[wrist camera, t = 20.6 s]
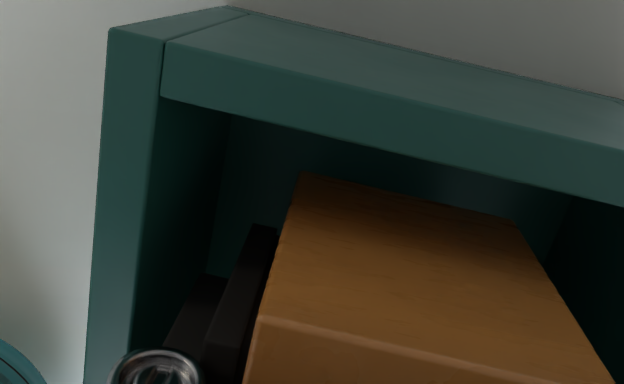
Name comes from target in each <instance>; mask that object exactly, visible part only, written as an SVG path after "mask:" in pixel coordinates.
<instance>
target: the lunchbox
mask: <svg viewBox="0 0 624 384" xmlns="http://www.w3.org/2000/svg"><path fill="white" fill-rule="evenodd" d="M300 171H308V172H312V173H316V174H321V175H325V176H329V177H333V178H338V179H342V180H346V181H350V182H355V183H359V184H363V185H367V186H372V187H376V188H380V189H384V190H388V191H393V192H397V193H401V194H405V195H410V196H414V197H418V198H422V199H427V200H431V201H435V202H439V203H444V204H448V205H452V206H456V207H461V208H465V209H469V210H473V211H478V212H482V213H486V214H490V215H495V216H499V217H503V218H507V219H511V220H513V221H514V223H515V224H516V226H517V227H518V229H519V231H520V232H521V234H522V235H523V237H524V239H525V240H526V242H527V243H528V245H529V246H530V248H531V250H532V251H533V253H534V254H535V256H536V258H537V259H538V261H539V262H540V264H541V265H542V267H543V269H544V270H545V272H546V273H547V275H548V277H549V278H550V280H551V281H552V283H553V285H554V286H555V288H556V289H557V291H558V292H559V294H560V296H561V297H562V299H563V300H564V302H565V304H566V305H567V307H568V308H569V310H570V312H571V313H572V315H573V316H574V318H575V319H576V321H577V323H578V324H579V326H580V327H581V329H582V331H583V332H584V334H585V335H586V337H587V338H588V340H589V342H590V343H591V345H592V346H593V348H594V350H595V351H596V353H597V354H598V356H599V358H600V359H601V361H602V362H603V364H604V365H605V367H606V369H607V370H608V372H609V373H610V375H611V377H612V378H613V380H614V381H615V383H616V384H624V100H620V99H616V98H612V97H608V96H604V95H600V94H595V93H591V92H587V91H583V90H579V89H575V88H570V87H566V86H562V85H558V84H554V83H550V82H545V81H541V80H537V79H533V78H529V77H525V76H520V75H516V74H512V73H508V72H504V71H500V70H495V69H491V68H487V67H483V66H479V65H475V64H470V63H466V62H462V61H458V60H454V59H449V58H445V57H441V56H437V55H433V54H429V53H424V52H420V51H416V50H412V49H408V48H404V47H399V46H395V45H391V44H387V43H383V42H379V41H374V40H370V39H366V38H362V37H358V36H354V35H349V34H345V33H341V32H337V31H333V30H329V29H324V28H320V27H316V26H312V25H308V24H304V23H299V22H295V21H291V20H287V19H283V18H278V17H274V16H270V15H266V14H262V13H258V12H253V11H249V10H245V9H241V8H237V7H233V6H228V5H226V6H221V7H214V8H209V9H204V10H199V11H193V12H188V13H183V14H178V15H173V16H168V17H163V18H158V19H153V20H148V21H143V22H138V23H133V24H128V25H123V26H117V27H112V28H110V29H109V31H108V41H107V55H106V69H105V83H104V97H103V111H102V125H101V139H100V153H99V167H98V181H97V195H96V210H95V224H94V238H93V252H92V266H91V280H90V294H89V308H88V322H87V336H86V350H85V364H84V378H83V384H106V382H107V378H108V375H109V373H110V371H111V369H112V367H113V365H114V364H115V363H116V362H117V361H118V360H119V359H120V358H121V357H122V356H124V355H126V354H128V353H130V352H132V351H134V350H137V349H141V348H145V347H150V346H162V345H163V343H164V341H165V339H166V337H167V336H168V334H169V332H170V330H171V328H172V326H173V324H174V322H175V320H176V318H177V316H178V315H179V313H180V311H181V309H182V307H183V305H184V303H185V301H186V299H187V297H188V295H189V294H190V292H191V290H192V288H193V286H194V284H195V282H196V280H197V278H198V277H199V275H200V273H202V272H203V273H207V274H211V275H216V276H220V277H224V278H228V279H229V278H230V276H231V274H232V271H233V269H234V267H235V264H236V262H237V259H238V257H239V255H240V252H241V250H242V247H243V245H244V243H245V240H246V238H247V236H248V233H249V231H250V228H251V226H252V224H253V223H255V224H260V225H264V226H268V227H273V228H277V235H278V236H280V235H281V232H282V228H283V225H284V222H285V218H286V215H287V211H288V208H289V205H290V201H291V198H292V194H293V191H294V188H295V184H296V181H297V177H298V174H299V172H300Z"/></svg>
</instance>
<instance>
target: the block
mask: <svg viewBox="0 0 624 384" xmlns="http://www.w3.org/2000/svg"><path fill="white" fill-rule="evenodd" d="M242 384H616V383H615V381H614V380H613V378H612V377H611V375H610V373H609V372H608V370H607V369H606V367H605V365H604V364H603V362H602V361H601V359H600V358H599V356H598V354H597V353H596V351H595V350H594V348H593V346H592V345H591V343H590V342H589V340H588V338H587V337H586V335H585V334H584V332H583V331H582V329H581V327H580V326H579V324H578V323H577V321H576V319H575V318H574V316H573V315H572V313H571V312H570V310H569V308H568V307H567V305H566V304H565V302H564V300H563V299H562V297H561V296H560V294H559V292H558V291H557V289H556V288H555V286H554V285H553V283H552V281H551V280H550V278H549V277H548V275H547V273H546V272H545V270H544V269H543V267H542V265H541V264H540V262H539V261H538V259H537V258H536V256H535V254H534V253H533V251H532V250H531V248H530V246H529V245H528V243H527V242H526V240H525V239H524V237H523V235H522V234H521V232H520V231H519V229H518V227H517V226H516V224H515V223H514V221H513V220H511V219H507V218H503V217H499V216H495V215H490V214H486V213H482V212H478V211H473V210H469V209H465V208H461V207H456V206H452V205H448V204H444V203H439V202H435V201H431V200H427V199H422V198H418V197H414V196H410V195H405V194H401V193H397V192H393V191H388V190H384V189H380V188H376V187H372V186H367V185H363V184H359V183H355V182H350V181H346V180H342V179H338V178H333V177H329V176H325V175H321V174H316V173H312V172H308V171H300V172H299V174H298V177H297V181H296V184H295V188H294V191H293V194H292V198H291V201H290V205H289V208H288V211H287V215H286V218H285V222H284V225H283V228H282V232H281V235H280V239H279V242H278V245H277V249H276V252H275V256H274V259H273V262H272V266H271V269H270V273H269V276H268V280H267V283H266V286H265V290H264V293H263V297H262V300H261V303H260V307H259V310H258V314H257V317H256V321H255V326H254V330H253V335H252V339H251V344H250V349H249V353H248V358H247V362H246V367H245V372H244V376H243V381H242Z"/></svg>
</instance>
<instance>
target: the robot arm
mask: <svg viewBox="0 0 624 384" xmlns="http://www.w3.org/2000/svg"><path fill="white" fill-rule="evenodd" d="M279 239H280V236H278V235H277V228H273V227H268V226H264V225H260V224H255V223H253V224H252V226H251V228H250V231H249V233H248V236H247V238H246V240H245V243H244V245H243V247H242V250H241V252H240V255H239V257H238V259H237V262H236V264H235V267H234V269H233V271H232V274H231V276H230V278H229V279H228V278H224V277H220V276H216V275H211V274H207V273H203V272H202V273H200V275H199V277H198V278H197V280H196V282H195V284H194V286H193V288H192V290H191V292H190V294H189V295H188V297H187V299H186V301H185V303H184V305H183V307H182V309H181V311H180V313H179V315H178V316H177V318H176V320H175V322H174V324H173V326H172V328H171V330H170V332H169V334H168V336H167V337H166V339H165V341H164V343H163V345H162V346H150V347H145V348H141V349H137V350H134V351H132V352H130V353H128V354H126V355H124V356H122V357H121V358H120V359H119V360H118V361H117V362H116V363H115V364H114V365H113V367H112V369H111V371H110V373H109V375H108V378H107V382H106V384H242V381H243V376H244V372H245V367H246V362H247V358H248V353H249V349H250V344H251V339H252V335H253V330H254V326H255V321H256V317H257V314H258V310H259V307H260V303H261V300H262V297H263V293H264V290H265V286H266V283H267V280H268V276H269V273H270V269H271V266H272V262H273V259H274V256H275V252H276V249H277V245H278V242H279Z"/></svg>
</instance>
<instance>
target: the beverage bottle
mask: <svg viewBox="0 0 624 384" xmlns="http://www.w3.org/2000/svg"><path fill="white" fill-rule="evenodd" d="M0 384H47V383H46V381H45V380H44V378H43V377H42V375H41V374H40V372H39V371H38V370H37V369H36V368H35V366H34V365H33V364H32V363H31V362H30V361H29V360H28V359H27V358H26V357H25V356H24V355H23V354H21V353H20V352H19V351H18V350H17V349H15V348H14V347H13V346H11V345H10V344H8V343H7V342H5V341H3V340H2V339H0Z"/></svg>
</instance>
